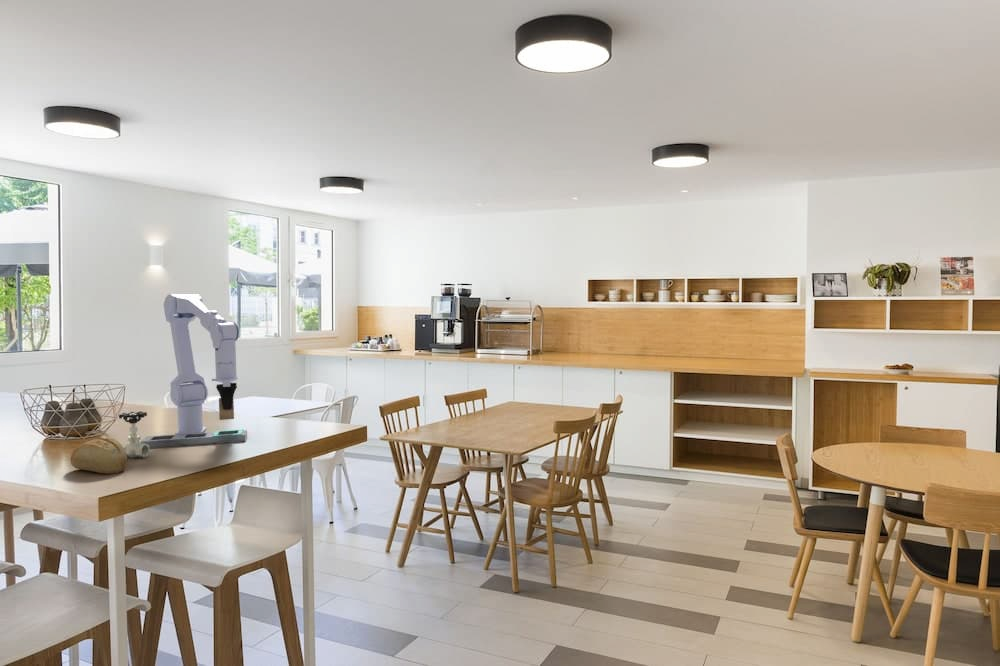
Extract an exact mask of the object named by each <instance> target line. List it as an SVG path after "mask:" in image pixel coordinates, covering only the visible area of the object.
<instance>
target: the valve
mask: <svg viewBox="0 0 1000 666" xmlns="http://www.w3.org/2000/svg"><path fill="white" fill-rule="evenodd" d="M147 416H148V413H147V411H142V410H141V411H137V412H135V411H129V412H127V413H126V412H122V413H121V414H119V415H118V419H123V420H124V422H126V423H129V424H130V426H129V433H130V435H129V436H127V442H123V443H121V445H122V446H123V448H124V450H125V453H126V456H127V458H131V459H137V458H147V456H148V455H149V454H150V449H151V448H149V445H147V444H145V443H141V442H140V440H141V435H139V434H138V433H137V432H138V426H137V425H136V424H138V422H140V421H141V420H142V418H145V417H147Z"/></svg>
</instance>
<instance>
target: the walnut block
mask: <svg viewBox="0 0 1000 666" xmlns="http://www.w3.org/2000/svg"><path fill="white" fill-rule="evenodd" d="M234 402H235V401H233V403H232V408H231V409H228V410H224V409H223V405H222V401H221V397H218V413H219V417H218V418H219V421H222V420H223V421H225V420H234V419H235V409H234V407H235V406H234Z"/></svg>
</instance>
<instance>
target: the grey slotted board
mask: <svg viewBox="0 0 1000 666" xmlns="http://www.w3.org/2000/svg"><path fill="white" fill-rule="evenodd" d="M247 438H248V429H244V428H243V429H227V430H226V429H225V430H215V431H213V432H212V431H211V432H203V433H192V434H177V435H175V434H165V435H151V436H150V435H148V436H144V437H143V439H142V440H141V441H140V443H145V444H147V445H149V448H150V449H157V448H156V447H158V448H169V447H170V446H172V447H183V445H187V446H198V445H212V443H216V444H224V443H223V442H231V443H241V442H240V441H245V442H246V441H247ZM170 448H171V447H170Z"/></svg>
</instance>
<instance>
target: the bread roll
mask: <svg viewBox="0 0 1000 666" xmlns="http://www.w3.org/2000/svg"><path fill="white" fill-rule="evenodd" d="M69 460H70V465H71V466H72V467H73V468H74V469H78V470H83V471H89V472H95V473H98V474H107V475H110V474H109V473H114V474H118V473H120V472H122V471H123V470H124V469H125V468H126V465H127V463H128V457H127V456H126V453H125V450H124V448H123V446H122V443H121V442H119V441H118V440H116V439H113V438H101V437H99V438H95V439H91V440H89V441H86V442H83V443H81V444H80V445H78V446H76V448H74V450H73V451H72V453H71V456H70V459H69ZM117 472H118V473H117Z"/></svg>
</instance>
